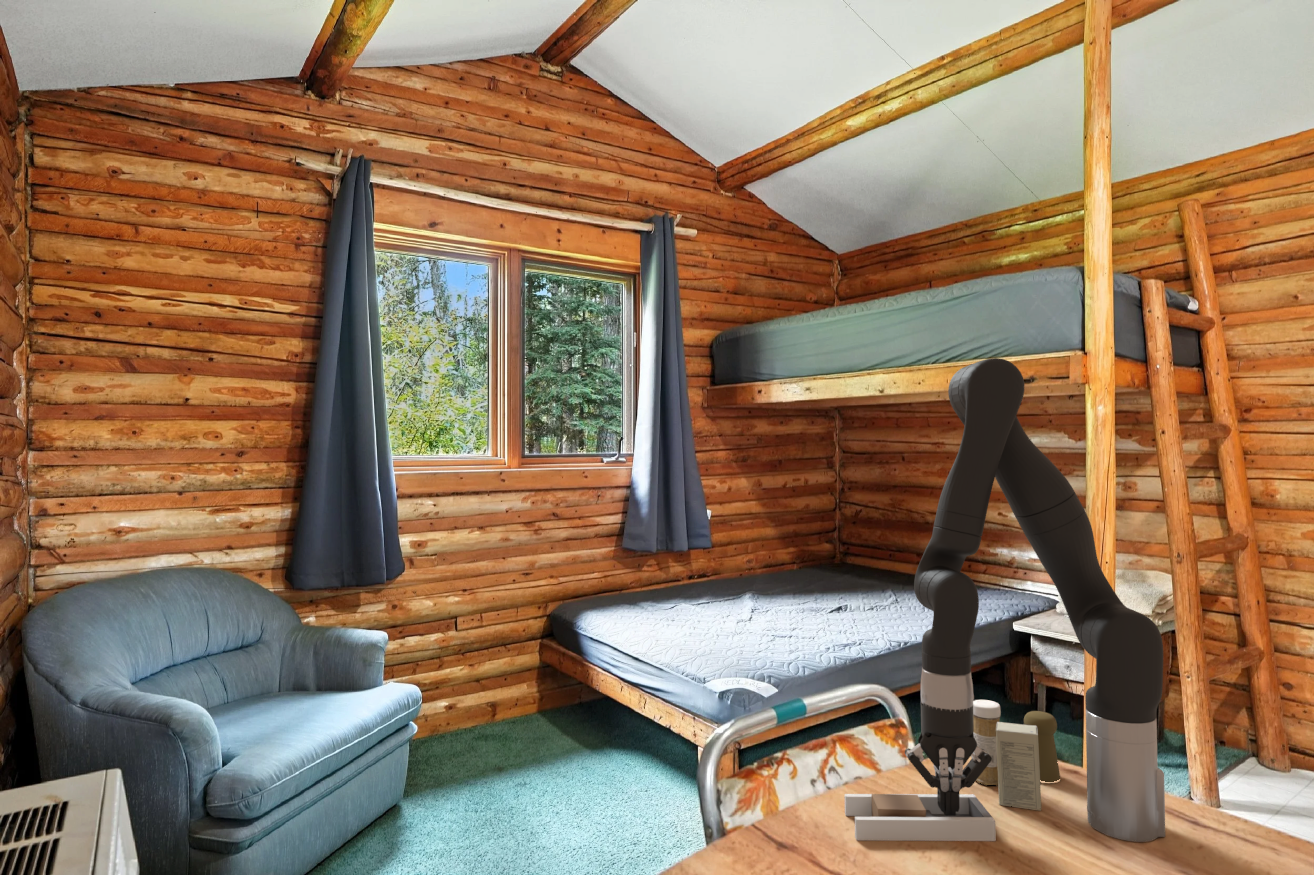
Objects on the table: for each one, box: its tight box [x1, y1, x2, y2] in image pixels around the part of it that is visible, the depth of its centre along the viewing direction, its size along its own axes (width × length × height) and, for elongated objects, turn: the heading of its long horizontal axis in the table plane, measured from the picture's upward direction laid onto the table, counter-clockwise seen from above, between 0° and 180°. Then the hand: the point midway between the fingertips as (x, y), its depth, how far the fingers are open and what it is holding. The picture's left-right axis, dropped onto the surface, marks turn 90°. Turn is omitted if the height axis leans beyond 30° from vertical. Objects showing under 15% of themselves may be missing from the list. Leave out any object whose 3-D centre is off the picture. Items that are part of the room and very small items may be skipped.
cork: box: [1023, 710, 1061, 782], centre depth 136 cm, size 6×6×11 cm
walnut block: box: [871, 793, 926, 817], centre depth 119 cm, size 7×5×4 cm
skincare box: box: [996, 721, 1042, 811], centre depth 126 cm, size 6×4×12 cm
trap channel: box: [844, 793, 997, 842], centre depth 119 cm, size 20×8×3 cm, turn 88°
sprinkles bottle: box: [973, 699, 1002, 786], centre depth 134 cm, size 5×5×14 cm
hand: (948, 813), depth 118 cm, fingers closed
